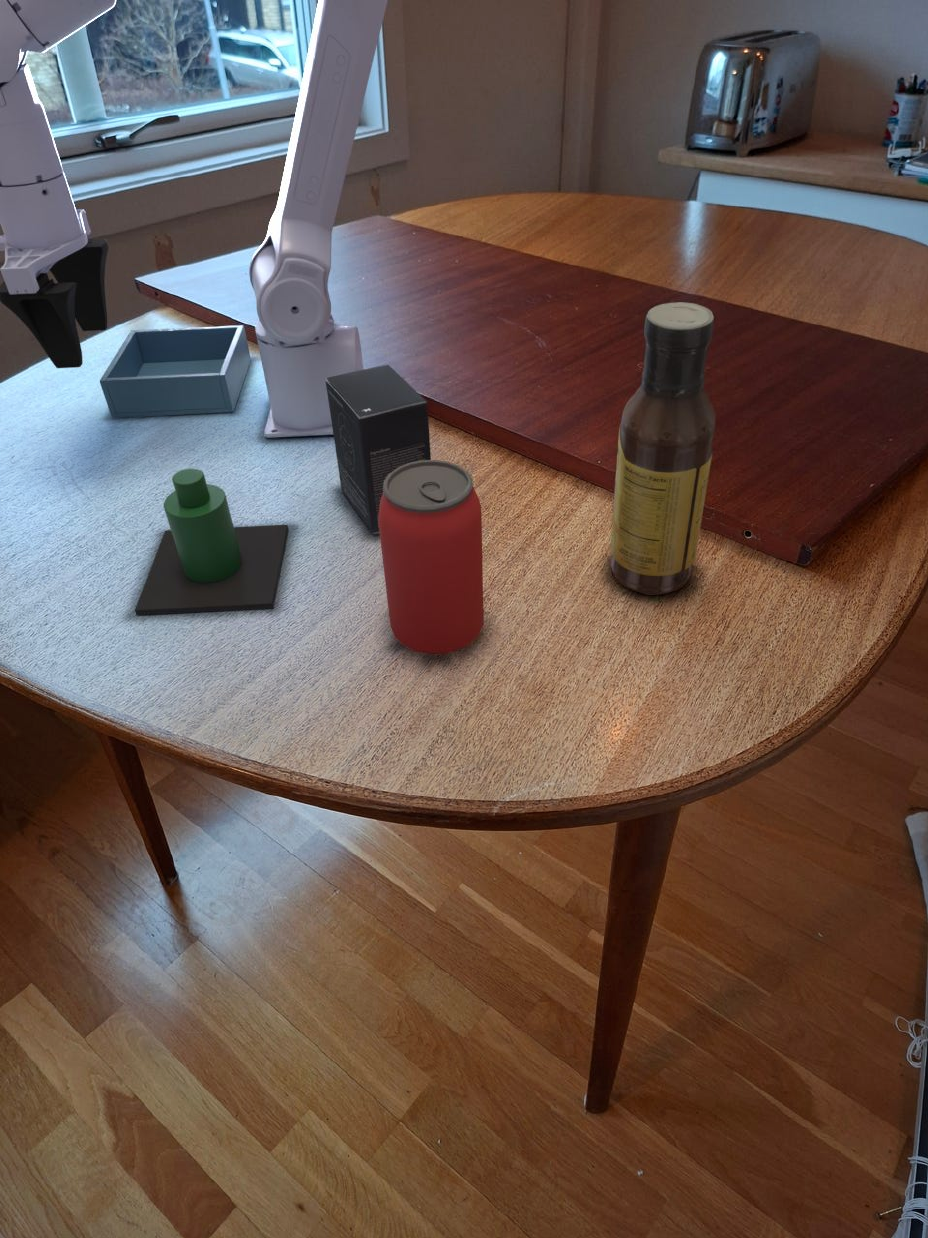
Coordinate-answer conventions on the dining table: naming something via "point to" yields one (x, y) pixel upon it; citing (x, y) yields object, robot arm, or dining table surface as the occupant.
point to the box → (375, 433)
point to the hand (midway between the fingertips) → (82, 346)
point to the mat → (236, 592)
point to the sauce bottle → (664, 454)
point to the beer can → (432, 556)
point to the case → (177, 372)
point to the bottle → (202, 528)
